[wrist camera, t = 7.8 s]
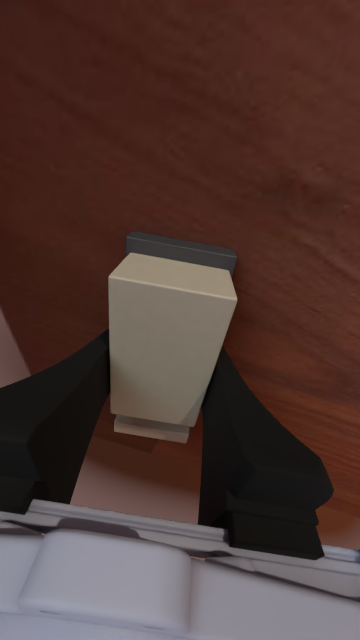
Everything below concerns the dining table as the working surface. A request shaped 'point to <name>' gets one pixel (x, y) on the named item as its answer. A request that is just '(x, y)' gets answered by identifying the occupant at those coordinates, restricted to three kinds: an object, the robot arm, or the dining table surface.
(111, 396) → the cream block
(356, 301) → the dining table surface
